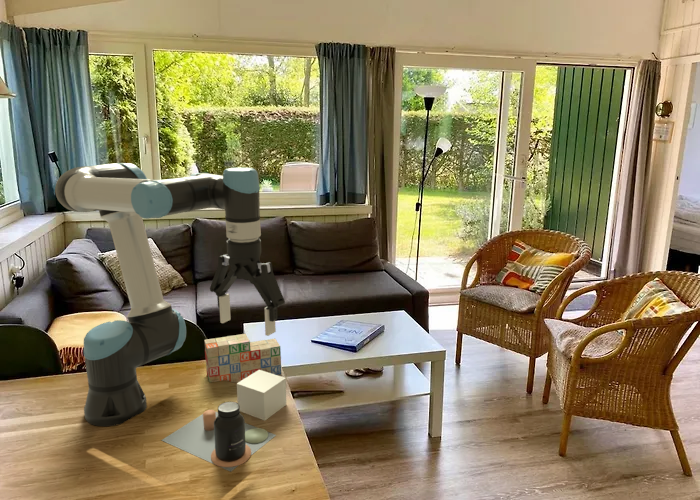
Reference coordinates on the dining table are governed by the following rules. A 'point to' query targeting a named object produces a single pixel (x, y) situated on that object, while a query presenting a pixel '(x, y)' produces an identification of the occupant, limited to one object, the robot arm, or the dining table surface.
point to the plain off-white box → (261, 394)
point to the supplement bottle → (229, 432)
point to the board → (202, 441)
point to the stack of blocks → (240, 357)
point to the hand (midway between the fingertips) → (247, 327)
